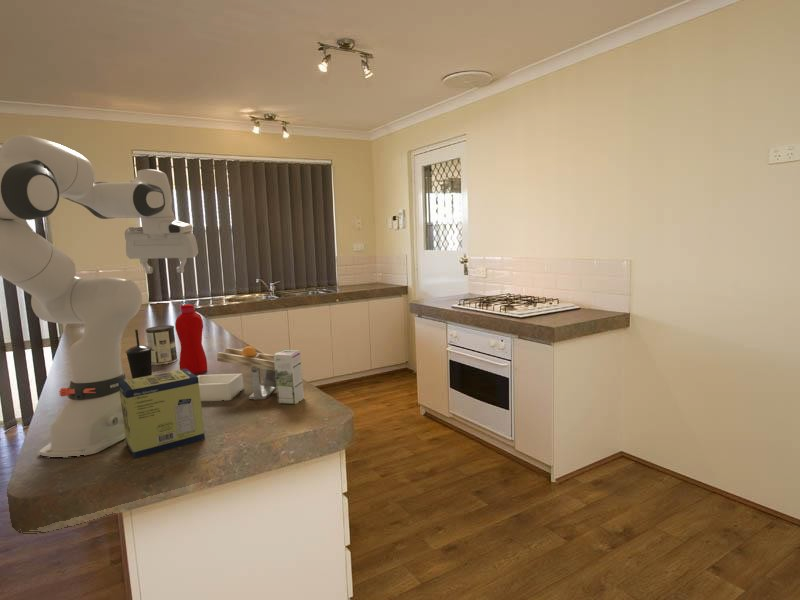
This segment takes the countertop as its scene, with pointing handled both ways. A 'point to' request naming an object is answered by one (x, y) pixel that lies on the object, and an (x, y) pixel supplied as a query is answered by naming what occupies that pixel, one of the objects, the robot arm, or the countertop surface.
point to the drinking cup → (139, 359)
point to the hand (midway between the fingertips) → (165, 272)
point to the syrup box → (288, 376)
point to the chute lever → (251, 362)
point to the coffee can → (162, 344)
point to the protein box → (161, 411)
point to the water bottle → (191, 340)
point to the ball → (249, 351)
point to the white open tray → (220, 386)
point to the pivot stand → (259, 390)
